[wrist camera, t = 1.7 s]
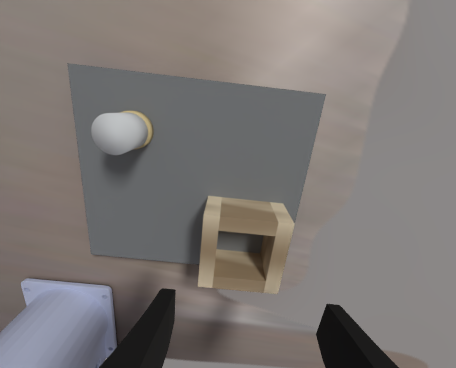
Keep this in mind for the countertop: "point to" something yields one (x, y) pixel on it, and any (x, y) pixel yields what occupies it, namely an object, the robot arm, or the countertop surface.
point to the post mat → (183, 157)
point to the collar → (244, 261)
